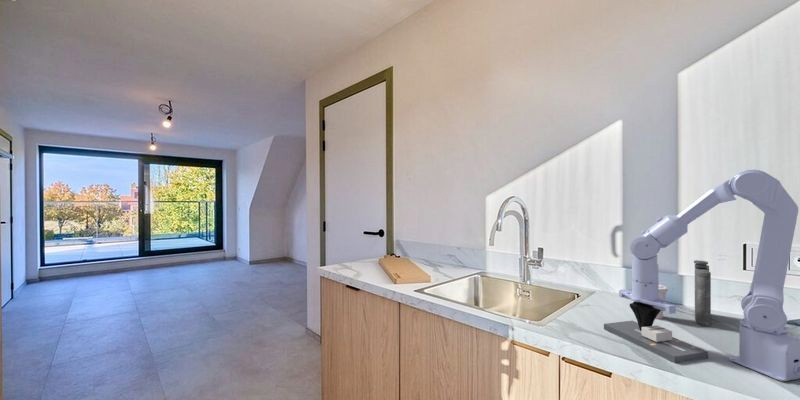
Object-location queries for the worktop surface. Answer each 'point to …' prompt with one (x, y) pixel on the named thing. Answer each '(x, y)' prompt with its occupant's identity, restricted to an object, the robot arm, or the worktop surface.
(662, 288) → the smoothie
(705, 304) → the flask
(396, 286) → the worktop surface
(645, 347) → the console
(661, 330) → the fader knob
